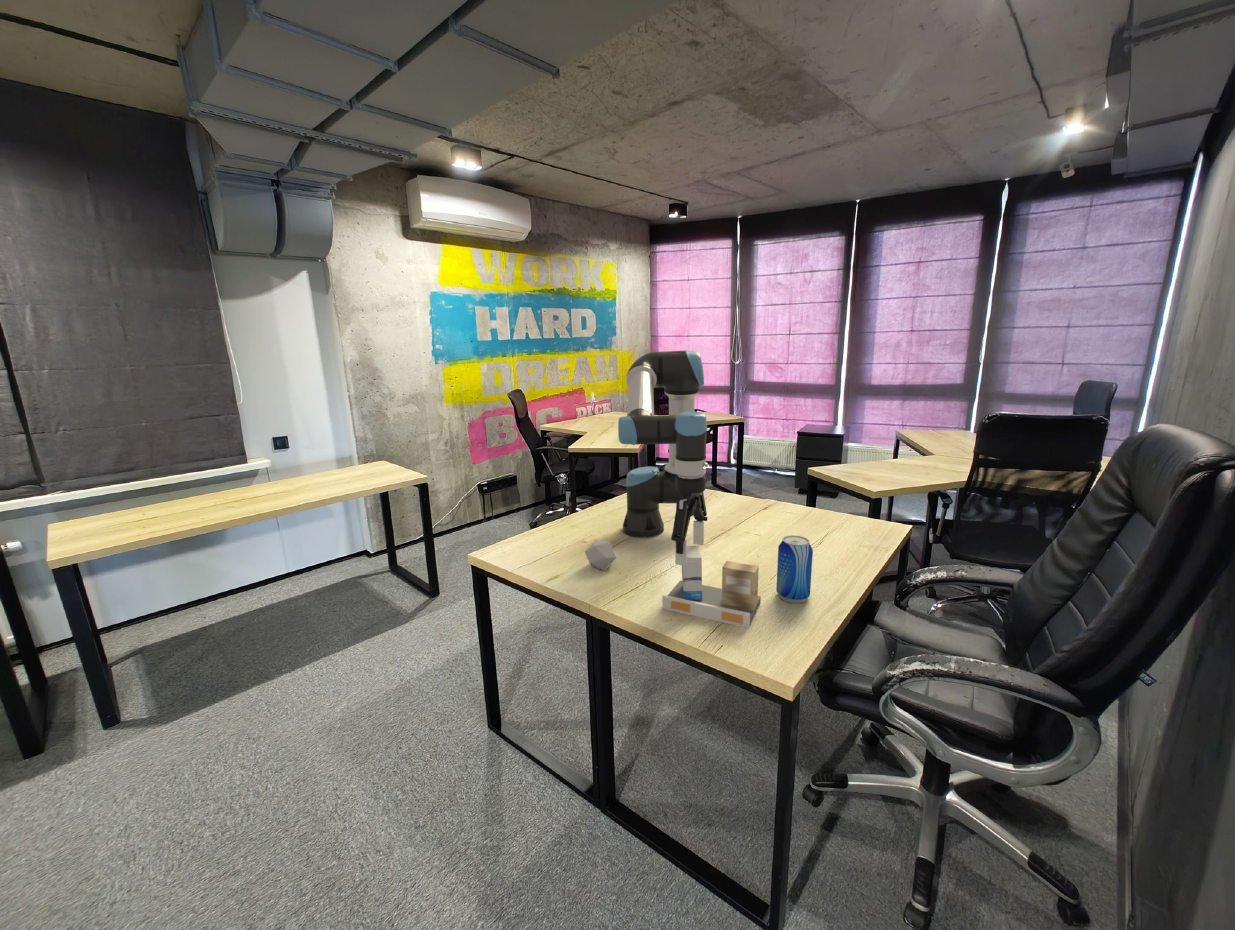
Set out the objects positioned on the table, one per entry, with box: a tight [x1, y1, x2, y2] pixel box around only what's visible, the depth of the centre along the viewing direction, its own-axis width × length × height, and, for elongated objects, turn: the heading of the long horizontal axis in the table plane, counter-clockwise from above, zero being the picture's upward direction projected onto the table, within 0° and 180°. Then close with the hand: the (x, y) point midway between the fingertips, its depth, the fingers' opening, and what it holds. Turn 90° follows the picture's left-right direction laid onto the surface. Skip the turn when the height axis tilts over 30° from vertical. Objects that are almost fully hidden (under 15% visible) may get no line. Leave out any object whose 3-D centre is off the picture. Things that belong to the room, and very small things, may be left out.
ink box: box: [681, 545, 703, 600], centre depth 129 cm, size 9×5×12 cm, turn 176°
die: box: [584, 538, 617, 571], centre depth 152 cm, size 8×9×10 cm
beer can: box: [775, 534, 814, 604], centre depth 129 cm, size 8×8×16 cm
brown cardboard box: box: [721, 560, 760, 611], centre depth 123 cm, size 8×4×10 cm, turn 63°
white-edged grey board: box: [661, 580, 762, 629], centre depth 127 cm, size 22×13×4 cm, turn 63°
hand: (690, 554), depth 128 cm, fingers open, 13 cm apart
